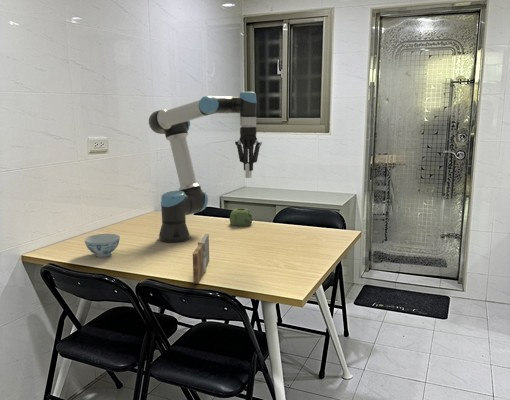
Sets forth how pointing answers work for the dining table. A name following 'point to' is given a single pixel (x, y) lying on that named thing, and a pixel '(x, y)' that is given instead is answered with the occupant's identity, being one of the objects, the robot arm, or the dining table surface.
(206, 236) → the hinge panel
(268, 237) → the dining table surface
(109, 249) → the chinaware
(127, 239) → the dining table surface
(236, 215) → the green round pot
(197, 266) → the brown flat wooden board
